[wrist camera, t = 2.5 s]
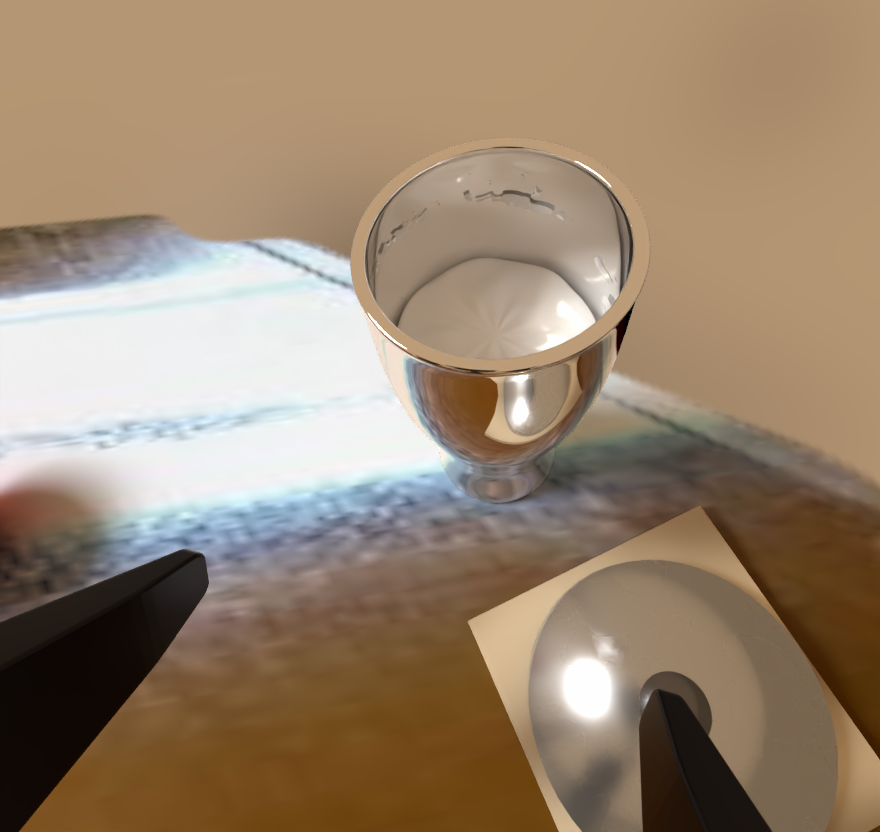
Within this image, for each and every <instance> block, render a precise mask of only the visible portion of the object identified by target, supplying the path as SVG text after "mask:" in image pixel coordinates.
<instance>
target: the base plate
mask: <svg viewBox="0 0 880 832" xmlns="http://www.w3.org/2000/svg"><path fill="white" fill-rule="evenodd" d="M638 560H665V561H671V562H678V563H682V564H686V565H690V566H693V567H697V568H700V569H702V570H705V571H707V572H710V573H712V574H715V575H717V576H719V577H721V578H722V579H724V580H726V581H728V582H730V583H732V584H734V585H735V586H737V587H738V588H740V589H741V590H742V591H744V592H745V593H747V594H748V595H750V596H751V597H752V598H754V599H755V600H756V601H757V602H758V603H759V604H761V605H762V606H763V607H764V608H765V609H767V610H768V611H769V612H770V613H771V614H772V615H773V616H774V618H775V619H776V620H777V621H778V622H779V623H780V624H781V625H782V626H783V627H784V628H785V629H786V631H787V632H788V633H789V635H790V636H791V637H792V638H793V636H792V635H791V634H790V632H789V631H788V629H787V628H786V626H785V625H784V624H783V622H782V621H781V619H780V618H779V617H778V615H777V614H776V612H775V611H774V609H773V608H772V607H771V605H770V604H769V602H768V601H767V600H766V598H765V597H764V595H763V594H762V592H761V591H760V590H759V588H758V587H757V585H756V584H755V583H754V581H753V580H752V578H751V577H750V575H749V574H748V573H747V571H746V570H745V568H744V567H743V566H742V564H741V563H740V561H739V560H738V558H737V557H736V556H735V554H734V553H733V551H732V550H731V549H730V547H729V546H728V544H727V543H726V541H725V540H724V539H723V537H722V536H721V534H720V533H719V532H718V530H717V529H716V527H715V526H714V525H713V523H712V522H711V520H710V519H709V517H708V516H707V515H706V513H705V512H704V510H703V509H702V508H701V506H697V507H695V508H693V509H691V510H689V511H687V512H685V513H683V514H681V515H679V516H677V517H675V518H673V519H671V520H669V521H667V522H665V523H663V524H661V525H659V526H657V527H655V528H653V529H651V530H649V531H647V532H645V533H643V534H641V535H639V536H637V537H635V538H633V539H631V540H629V541H627V542H625V543H623V544H621V545H619V546H617V547H615V548H613V549H611V550H609V551H607V552H605V553H603V554H600V555H598V556H596V557H594V558H592V559H590V560H588V561H586V562H584V563H582V564H580V565H578V566H576V567H574V568H572V569H570V570H568V571H566V572H564V573H562V574H560V575H558V576H556V577H554V578H552V579H550V580H548V581H546V582H544V583H542V584H540V585H538V586H536V587H534V588H532V589H530V590H528V591H526V592H524V593H522V594H520V595H518V596H516V597H514V598H512V599H510V600H508V601H506V602H504V603H502V604H500V605H498V606H496V607H494V608H492V609H490V610H488V611H486V612H484V613H482V614H480V615H478V616H476V617H474V618H472V619H470V620H469V621H468V623H469V625H470V627H471V630H472V632H473V634H474V637H475V639H476V641H477V643H478V646H479V648H480V650H481V653H482V655H483V657H484V660H485V662H486V664H487V667H488V669H489V671H490V673H491V676H492V678H493V680H494V683H495V685H496V687H497V690H498V692H499V694H500V697H501V699H502V701H503V704H504V706H505V708H506V710H507V713H508V715H509V717H510V720H511V722H512V724H513V727H514V729H515V731H516V734H517V736H518V738H519V740H520V743H521V745H522V747H523V750H524V752H525V754H526V757H527V759H528V761H529V764H530V766H531V768H532V770H533V773H534V775H535V777H536V780H537V782H538V784H539V787H540V789H541V791H542V794H543V796H544V798H545V800H546V803H547V805H548V807H549V810H550V812H551V814H552V817H553V819H554V821H555V824H556V826H557V828H558V831H559V832H582V831H581V830H580V829H579V827H578V826H577V825H576V824H575V822H574V821H573V820H572V819H571V817H570V816H569V814H568V813H567V811H566V809H565V808H564V806H563V805H562V803H561V802H560V800H559V799H558V797H557V795H556V793H555V791H554V789H553V787H552V785H551V783H550V781H549V779H548V777H547V774H546V772H545V769H544V767H543V764H542V761H541V759H540V756H539V753H538V749H537V745H536V741H535V738H534V734H533V730H532V726H531V720H530V713H529V706H528V674H529V664H530V659H531V654H532V649H533V646H534V643H535V640H536V637H537V634H538V631H539V629H540V627H541V625H542V623H543V621H544V619H545V617H546V616H547V614H548V613H549V611H550V610H551V608H552V607H553V605H554V604H555V602H556V601H557V600H558V599H559V598H560V597H561V596H562V595H563V594H564V593H565V592H566V591H567V590H568V589H569V588H570V587H571V586H573V585H574V584H575V583H576V582H578V581H579V580H581V579H582V578H584V577H586V576H587V575H589V574H591V573H593V572H595V571H598V570H600V569H602V568H605V567H608V566H612V565H616V564H620V563H624V562H629V561H638ZM793 640H794V641H795V639H794V638H793ZM795 642H796V641H795ZM796 643H797V642H796ZM797 645H798V643H797ZM798 646H799V645H798ZM799 648H800V646H799ZM800 649H801V648H800ZM801 651H802V653H803V654H804V656H805V657H806V659H807V660H808V662H809V664H810V665H811V667H812V669H813V671H814V673H815V675H816V677H817V679H818V681H819V683H820V685H821V688H822V691H823V693H824V696H825V699H826V701H827V704H828V707H829V710H830V714H831V718H832V722H833V726H834V730H835V736H836V743H837V751H838V783H837V791H836V799H835V803H834V807H833V811H832V814H831V818H830V821H829V824H828V826H827V828H826V830H825V832H868V831H870V830H872V829H874V828H876V827H877V826H879V825H880V759H879V758H878V757H877V755H876V754H875V752H874V751H873V750H872V748H871V747H870V745H869V744H868V742H867V741H866V740H865V738H864V737H863V735H862V734H861V733H860V731H859V730H858V728H857V727H856V726H855V724H854V723H853V721H852V720H851V718H850V717H849V716H848V714H847V713H846V711H845V710H844V709H843V707H842V706H841V704H840V703H839V701H838V700H837V699H836V697H835V696H834V694H833V693H832V692H831V690H830V689H829V687H828V686H827V684H826V683H825V682H824V680H823V679H822V677H821V676H820V675H819V673H818V672H817V670H816V669H815V667H814V666H813V665H812V663H811V662H810V660H809V659H808V658H807V656H806V655H805V653H804V652H803V650H802V649H801Z"/></svg>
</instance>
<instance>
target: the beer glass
mask: <svg viewBox="0 0 880 832" xmlns="http://www.w3.org/2000/svg"><path fill="white" fill-rule="evenodd" d="M649 261H650V236H649V230H648V226H647V222H646V219H645V217H644V214H643V212H642V209H641V207H640V205H639V203H638V202H637V200H636V198H635V197H634V195H633V194H632V192H631V191H630V190H629V188H628V187H627V186H626V185H625V184H624V182H623V181H622V180H621V179H620V178H619V177H618V176H616V175H615V174H614V173H613V172H612V171H611V170H610V169H608V168H607V167H606V166H604V165H603V164H601V163H600V162H598V161H597V160H595V159H593V158H591V157H589V156H588V155H586V154H583V153H581V152H579V151H577V150H574V149H572V148H569V147H566V146H563V145H560V144H556V143H552V142H548V141H543V140H536V139H529V138H491V139H483V140H476V141H471V142H467V143H462V144H459V145H455V146H452V147H449V148H446V149H443V150H441V151H438V152H436V153H433V154H431V155H429V156H427V157H425V158H423V159H421V160H419V161H418V162H416V163H414V164H413V165H411V166H410V167H408V168H407V169H405V170H404V171H402V172H401V173H399V174H398V175H397V176H396V177H395V178H393V179H392V180H391V181H390V182H389V183H388V184H387V185H386V186H385V187H384V188H383V189H382V190H381V191H380V192H379V193H378V194H377V195H376V197H375V198H374V199H373V201H372V202H371V203H370V205H369V206H368V208H367V209H366V212H365V213H364V215H363V217H362V219H361V221H360V223H359V225H358V227H357V230H356V233H355V236H354V240H353V244H352V250H351V277H352V283H353V287H354V291H355V294H356V297H357V299H358V301H359V304H360V306H361V308H362V310H363V311H364V314H365V317H366V320H367V323H368V326H369V329H370V333H371V336H372V339H373V342H374V344H375V347H376V350H377V353H378V356H379V359H380V361H381V364H382V366H383V369H384V371H385V373H386V375H387V378H388V380H389V382H390V385H391V387H392V389H393V391H394V393H395V395H396V396H397V398H398V400H399V401H400V403H401V404H402V406H403V408H404V409H405V411H406V413H407V414H408V416H409V417H410V419H411V420H412V421H413V422H414V424H415V425H416V426H417V427H418V428H419V429H420V430H421V431H422V432H423V433H424V434H425V435H426V436H427V437H428V438H429V440H431V441H432V442H433V443H434V444H435V445H436V446H437V447H439V454H440V459H441V463H442V466H443V469H444V471H445V473H446V474H447V476H448V477H449V479H450V480H451V481H452V482H453V484H454V485H455V486H456V487H457V488H458V489H460V490H461V491H462V492H464V493H465V494H467V495H468V496H470V497H472V498H475V499H477V500H480V501H484V502H490V503H505V502H510V501H514V500H517V499H520V498H522V497H524V496H526V495H528V494H530V493H531V492H533V491H534V490H535V489H536V488H537V487H538V486H540V484H541V483H542V482H543V481H544V480H545V478H546V477H547V475H548V473H549V471H550V469H551V466H552V463H553V459H554V452H555V447H556V446H557V445H559V444H560V443H561V442H562V441H563V440H564V439H565V438H566V437H567V436H568V435H569V434H570V433H571V432H572V431H573V430H574V429H575V428H576V427H577V426H578V425H579V424H580V423H581V421H582V420H583V419H584V418H585V416H586V415H587V414H588V412H589V410H590V409H591V407H592V406H593V404H594V402H595V401H596V399H597V397H598V396H599V394H600V392H601V391H602V389H603V387H604V385H605V383H606V381H607V378H608V376H609V374H610V372H611V369H612V367H613V365H614V363H615V360H616V358H617V355H618V352H619V349H620V347H621V344H622V341H623V338H624V335H625V333H626V330H627V326H628V323H629V320H630V317H631V313H632V310H633V307H634V304H635V301H636V299H637V298H638V296H639V293H640V292H641V289H642V287H643V285H644V282H645V279H646V276H647V271H648V267H649Z"/></svg>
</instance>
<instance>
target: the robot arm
mask: <svg viewBox="0 0 880 832" xmlns="http://www.w3.org/2000/svg"><path fill="white" fill-rule="evenodd" d="M208 584H209V580H208V573H207V567H206V561H205V557H204V555H203V554H202V553H200V552H197V551H193V550H190V549H182V550H179V551H176V552H174V553H171V554H169V555H166V556H164V557H161V558H159V559H156V560H154V561H151V562H149V563H147V564H144V565H142V566H139V567H137V568H134V569H132V570H129V571H127V572H124V573H122V574H119V575H117V576H114V577H112V578H109V579H107V580H104V581H102V582H99V583H97V584H94V585H92V586H89V587H87V588H84V589H82V590H79V591H77V592H74V593H72V594H69V595H67V596H64V597H62V598H59V599H57V600H54V601H52V602H49V603H47V604H44V605H42V606H39V607H37V608H34V609H32V610H29V611H27V612H24V613H22V614H19V615H17V616H14V617H12V618H9V619H7V620H4V621H2V622H0V832H19V831H20V830H21V828H22V827H23V826H24V825H25V824H26V822H27V821H28V820H29V819H30V817H31V816H32V815H33V814H34V813H35V811H36V810H37V809H38V808H39V806H40V805H41V804H42V803H43V802H44V800H45V799H46V798H47V797H48V795H49V794H50V793H51V792H52V791H53V789H54V788H55V787H56V786H57V785H58V783H59V782H60V781H61V780H62V778H63V777H64V776H65V775H66V774H67V772H68V771H69V770H70V769H71V767H72V766H73V765H74V764H75V763H76V761H77V760H78V759H79V758H80V756H81V755H82V754H83V753H84V752H85V750H86V749H87V748H88V747H89V746H90V744H91V743H92V742H93V741H94V739H95V738H96V737H97V736H98V735H99V733H100V732H101V731H102V730H103V728H104V727H105V726H106V725H107V724H108V722H109V721H110V720H111V719H112V717H113V716H114V715H115V714H116V713H117V711H118V710H119V709H120V708H121V706H122V705H123V704H124V703H125V702H126V700H127V699H128V698H129V697H130V696H131V694H132V693H133V692H134V691H135V689H136V688H137V687H138V686H139V685H140V683H141V682H142V681H143V680H144V678H145V677H146V676H147V675H148V674H149V672H150V671H151V670H152V668H153V667H154V666H155V665H156V663H157V662H158V661H159V659H160V658H161V657H162V655H163V654H164V652H165V651H166V650H167V648H168V647H169V645H170V644H171V642H172V641H173V640H174V638H175V637H176V635H177V634H178V632H179V631H180V629H181V628H182V626H183V625H184V624H185V622H186V621H187V619H188V618H189V616H190V615H191V613H192V612H193V610H194V609H195V608H196V606H197V605H198V603H199V602H200V600H201V599H202V597H203V596H204V594H205V593H206V591H207V588H208ZM639 749H640V776H641V803H642V826H643V832H772V830H771V829H770V827H769V826H768V824H767V823H766V821H765V820H764V818H763V817H762V815H761V814H760V812H759V811H758V809H757V808H756V806H755V805H754V803H753V802H752V800H751V799H750V797H749V796H748V794H747V793H746V791H745V790H744V788H743V787H742V785H741V784H740V782H739V781H738V779H737V778H736V776H735V775H734V773H733V772H732V770H731V769H730V767H729V766H728V764H727V763H726V761H725V760H724V758H723V757H722V755H721V754H720V752H719V751H718V749H717V748H716V746H715V745H714V743H713V742H712V740H711V739H710V737H709V736H708V734H707V733H706V731H705V730H704V728H703V727H702V725H701V724H700V722H699V721H698V719H697V718H696V716H695V715H694V713H693V712H692V710H691V709H690V707H689V706H688V704H687V703H686V701H685V700H684V699H683V698H682V697H681V696H680V695H678V694H676V693H673V692H669V691H666V690H663V689H659V688H656V689H654V690H653V691H652V693H651V695H650V697H649V699H648V702H647V704H646V706H645V708H644V711H643V713H642V715H641V718H640V723H639Z"/></svg>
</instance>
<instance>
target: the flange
mask: <svg viewBox="0 0 880 832" xmlns="http://www.w3.org/2000/svg"><path fill="white" fill-rule="evenodd" d="M656 688H659V689H663V690H666V691H669V692H673V693H676V694H678V695H680V696H681V697H682V698H683V699H684V700H685V701H686V703H687V704H688V706H689V707H690V709H691V710H692V712H693V713H694V715H695V716H696V718H697V719H698V721H699V722H700V724H701V725H702V727H703V728H704V730H705V731H706V733H707V734H708V736H709V737H710V739H711V740H712V742H713V743H714V745H715V746H716V748H717V749H718V751H719V752H720V754H721V755H722V757H723V758H724V760H725V761H726V763H727V764H728V766H729V767H730V769H731V770H732V772H733V773H734V775H735V776H736V778H737V779H738V781H739V782H740V784H741V785H742V787H743V788H744V790H745V791H746V793H747V794H748V796H749V797H750V799H751V800H752V802H753V803H754V805H755V806H756V808H757V809H758V811H759V812H760V814H761V815H762V817H763V818H764V820H765V821H766V823H767V824H768V826H769V827H770V829H771V830H772V832H825V830H826V828H827V826H828V824H829V821H830V818H831V814H832V811H833V807H834V803H835V799H836V791H837V783H838V751H837V743H836V736H835V730H834V726H833V722H832V718H831V714H830V710H829V707H828V704H827V701H826V699H825V696H824V693H823V691H822V688H821V685H820V683H819V681H818V679H817V677H816V675H815V673H814V671H813V669H812V667H811V665H810V664H809V662H808V660H807V659H806V657H805V656H804V654H803V653H802V651H801V649H800V648H799V646H798V645H797V643H796V642H795V641H794V640H793V638H792V637H791V636H790V635H789V633H788V632H787V631H786V629H785V628H784V627H783V626H782V625H781V624H780V623H779V622H778V621H777V620H776V619H775V618H774V616H773V615H772V614H771V613H770V612H769V611H768V610H767V609H765V608H764V607H763V606H762V605H761V604H759V603H758V602H757V601H756V600H755V599H754V598H752V597H751V596H750V595H748V594H747V593H745V592H744V591H742V590H741V589H740V588H738V587H737V586H735V585H734V584H732V583H730V582H728V581H726V580H724V579H722V578H721V577H719V576H717V575H715V574H712V573H710V572H707V571H705V570H702V569H700V568H697V567H693V566H690V565H686V564H682V563H678V562H671V561H665V560H638V561H629V562H624V563H620V564H616V565H612V566H608V567H605V568H602V569H600V570H598V571H595V572H593V573H591V574H589V575H587V576H586V577H584V578H582V579H581V580H579V581H578V582H576V583H575V584H574V585H573V586H571V587H570V588H569V589H568V590H567V591H566V592H565V593H564V594H563V595H562V596H561V597H560V598H559V599H558V600H557V601H556V602H555V604H554V605H553V607H552V608H551V610H550V611H549V613H548V614H547V616H546V617H545V619H544V621H543V623H542V625H541V627H540V629H539V631H538V634H537V637H536V640H535V643H534V646H533V649H532V654H531V659H530V664H529V674H528V706H529V713H530V720H531V726H532V730H533V734H534V738H535V741H536V745H537V749H538V753H539V756H540V759H541V761H542V764H543V767H544V769H545V772H546V774H547V777H548V779H549V781H550V783H551V785H552V787H553V789H554V791H555V793H556V795H557V797H558V799H559V800H560V802H561V803H562V805H563V806H564V808H565V809H566V811H567V813H568V814H569V816H570V817H571V819H572V820H573V821H574V822H575V824H576V825H577V826H578V827H579V829H580V830H581V831H582V832H643V826H642V803H641V776H640V749H639V723H640V718H641V715H642V713H643V711H644V708H645V706H646V704H647V702H648V699H649V697H650V695H651V693H652V691H653V690H654V689H656Z"/></svg>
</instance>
